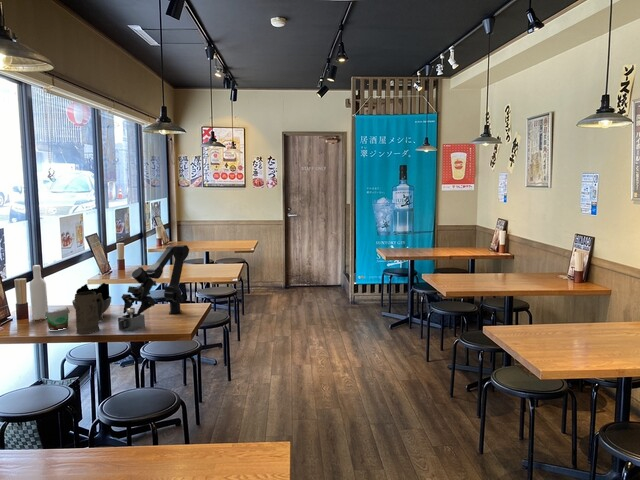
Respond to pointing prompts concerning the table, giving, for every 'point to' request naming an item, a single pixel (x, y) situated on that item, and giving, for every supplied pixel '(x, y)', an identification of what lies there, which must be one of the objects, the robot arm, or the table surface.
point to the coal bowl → (100, 289)
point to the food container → (57, 319)
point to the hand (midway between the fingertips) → (130, 313)
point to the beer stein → (88, 312)
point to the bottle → (38, 294)
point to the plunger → (130, 311)
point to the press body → (131, 322)
